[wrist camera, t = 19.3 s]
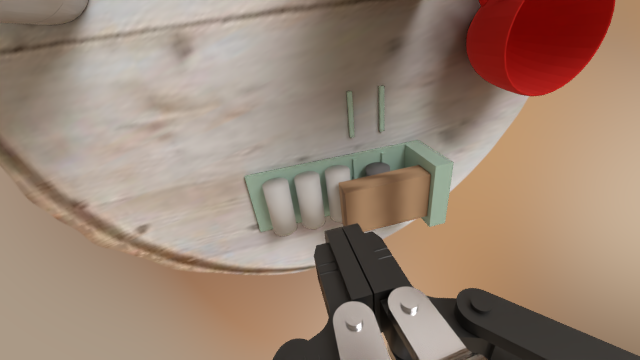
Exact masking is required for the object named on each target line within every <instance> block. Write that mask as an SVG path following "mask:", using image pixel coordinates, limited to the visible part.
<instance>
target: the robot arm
mask: <svg viewBox="0 0 640 360" xmlns="http://www.w3.org/2000/svg"><path fill="white" fill-rule="evenodd" d="M87 3H88V0H0V23H18V24H41V25H57V24H64V23H67V22H70V21H72V20H74V19H75V18H77V17H78V16H79V15H81V13H82V12H83V11H84V9H85V8H86V6H87ZM325 239H326V243H325V244H321V245H317V246H316V249H315V254H314V258H315V264H316V269H317V275H318V280H319V284H320V287H321V291H322V294H323V298H324V302H325V305H326V309H327V313H328V316H329V319H328V323H327V324H326V326H325V327H324V329H323V330H322V331H321V332H320V333H318V334H317V335H316V336H314V337H313V338H312V339H310V340H309V341H307V340H305V339H293V340H290V341H288V342H286V343H285V344H283V345H282V346H281V347H280V349H279V350H278V351H277V353H276V355H275V356H274V358H273V360H390V357H391V359H392V360H640V356H638V355H635V354H633V353H630V352H628V351H626V350H623V349H621V348H619V347H616V346H614V345H612V344H609V343H607V342H604V341H602V340H600V339H597V338H595V337H593V336H590V335H588V334H586V333H583V332H581V331H578V330H576V329H573V328H571V327H569V326H567V325H564V324H562V323H560V322H557V321H555V320H553V319H550V318H548V317H545V316H543V315H541V314H538V313H536V312H534V311H531V310H529V309H526V308H524V307H522V306H519V305H517V304H515V303H512V302H510V301H508V300H505V299H503V298H501V297H498V296H496V295H493V294H491V293H489V292H486V291H484V290H481V289H476V288H469V289H465V290H462V291H461V292H460V293H459V294H458V296H457V299H454V298H433V297H429V296H426V295H425V294H424V293H423V292H421V291H420V290H418V289H416V288H414V287H413V286H412V285H411V284H410V282H409V281H408V279H407V277H406V276H405V274H404V273H403V271H402V270H401V268H400V267H399V265H398V263H397V262H396V260H395V259H394V257H393V256H392V254H391V252H390V251H389V249H387V246H386V245H385V243H384V242H383V240H382V238H380V237H379V236H378V235H376V234H375V233H373V232H368V233H365V234H364V233H363V231H362V229H361V227H360V225H359V224H358V223H355V224H351V225H347V226H343V227H339V228H335V229H331V230H327V231H325ZM382 332H383V333H384V335H385V338H386V340H387V342H388V343H387V347H388V352H387V349H386V346H385V344H384V341H383V338H382V335H381V333H382ZM388 353H389V355H390V357H389V355H388Z"/></svg>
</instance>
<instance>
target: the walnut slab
mask: <svg viewBox="0 0 640 360" xmlns="http://www.w3.org/2000/svg"><path fill="white" fill-rule="evenodd" d="M430 181H431V174H430V173H429V172H428V171H426V170H425V169H424V168H423V167H421V166H420V165H416V166H412V167H407V168H403V169H398V170H394V171H389V172H385V173H380V174H376V175H371V176H367V177H362V178H358V179H353V180H348V181H344V182H339V183H338V184H339V194H340V204H341V214H342V223H343V225H344V226H347V225H351V224H355V223H358V224H359V225H360V227H361V229H362V231H363V232H365V231H369V230H373V229H377V228H381V227H385V226H389V225H393V224H397V223H401V222H405V221H409V220H413V219H417V218H421V217H425V216H427V211H428V201H429V191H430Z"/></svg>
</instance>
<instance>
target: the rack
mask: <svg viewBox="0 0 640 360" xmlns="http://www.w3.org/2000/svg"><path fill="white" fill-rule="evenodd" d="M347 107H348V122H349V137H350V138H351V137H355V136H354V119H353V101H352V91H348V92H347ZM379 131H380V132H382V131H384V86H383V85H382V86H379Z"/></svg>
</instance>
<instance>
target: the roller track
mask: <svg viewBox="0 0 640 360" xmlns="http://www.w3.org/2000/svg"><path fill="white" fill-rule="evenodd" d="M374 162H383V163H386V164H388V165H389V166H390V171H394V170H398V169H403V168H407V167H412V166H416V165H420V166H421V167H423V168H424V169H425V170H426V171H428V172H429V173H430V174H431V181H430V191H429V201H428V211H427V216H425V217H421V218H422V219H423V220H424V221H425V223H427V225H428V226H429V227H431V226H435V225H438V224H442V223H445V219H446V212H447V205H448V198H449V191H450V184H451V177H452V170H453V163H454V162H452V161H450V160H449V159H447V158H446V157H444V156H443V155H441V154H440V153H438V152H436V151H435V150H433V149H432V148H430V147H429V146H427V145H425V144H424V143H422V142H421V141H419V140H415V141H411V142H406V143H401V144H396V145H391V146H387V147H382V148H377V149H372V150H367V151H362V152H358V153H353V154H348V155H343V156H338V157H334V158H329V159H324V160H319V161H314V162H309V163H305V164H300V165H295V166H290V167H285V168H280V169H276V170H271V171H266V172H261V173H256V174H252V175H247V176H245V181H246V184H247V187H248V191H249V194H250V198H251V201H252V204H253V208H254V211H255V215H256V218H257V221H258V225H259V228H260V231H261V232H263V231H267V230H271V229H274V233H275V234H276V235H278V236H288V235H290V234H292V233H294V232H295V231H296V229H297V223H301V222H302V223H303V226H304V227H305V228H308V229H317V228H320V227H321V226H323V225H324V223H325V217H326V216H330V217H331V219H332V220H333V221H336V222H342V214H341V204H340V194H339V184H338V183H339V182H344V181H348V180H353V179H358V178H362V177H366V169H365V168H366V166H367V165H368V164H370V163H374Z"/></svg>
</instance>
